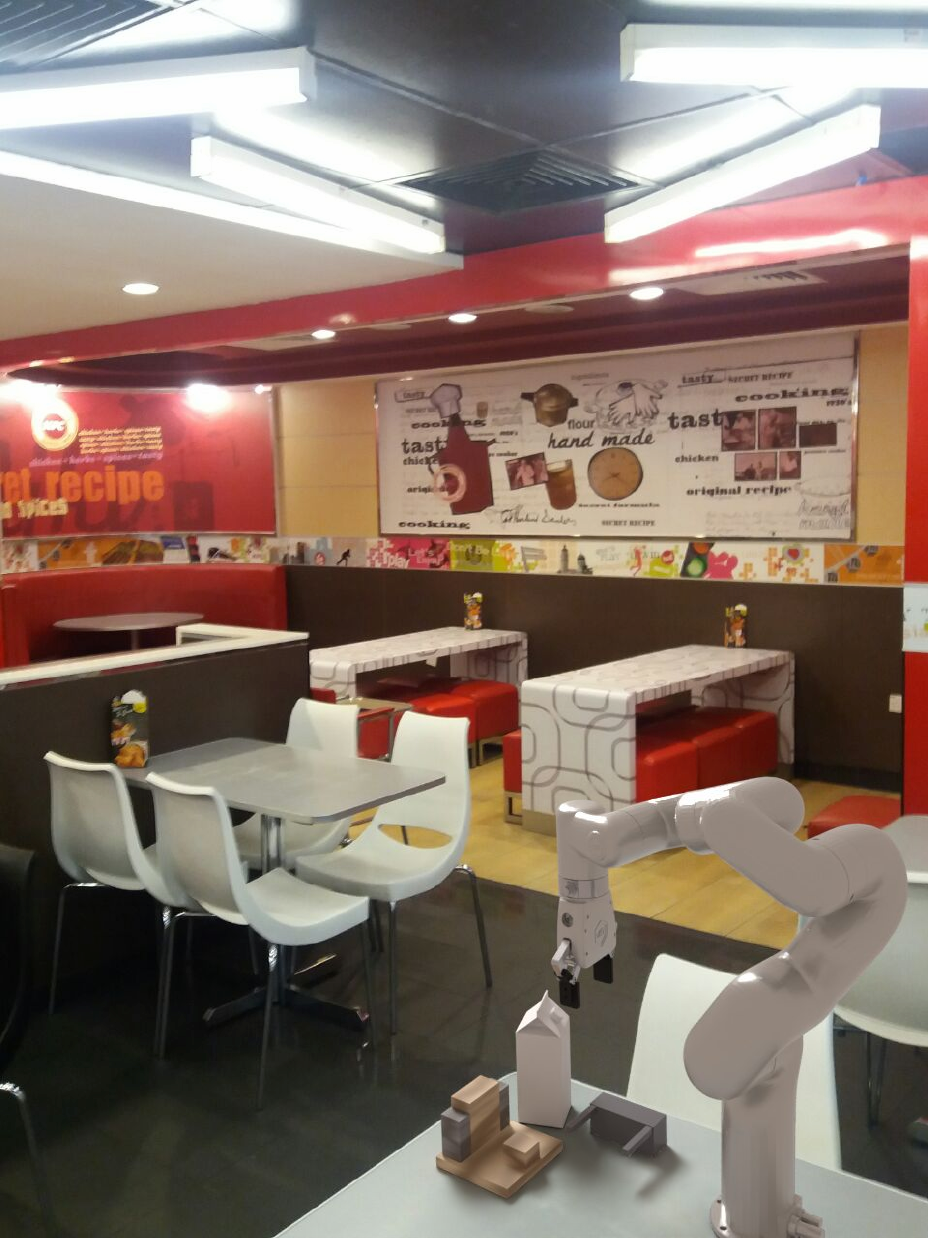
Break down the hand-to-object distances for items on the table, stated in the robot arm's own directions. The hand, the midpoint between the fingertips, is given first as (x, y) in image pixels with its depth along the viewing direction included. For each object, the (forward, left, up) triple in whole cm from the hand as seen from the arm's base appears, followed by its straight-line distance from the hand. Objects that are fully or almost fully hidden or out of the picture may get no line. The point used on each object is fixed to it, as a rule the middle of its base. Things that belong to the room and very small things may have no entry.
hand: (587, 993), depth 170 cm
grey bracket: (-5, +1, -23) cm, 24 cm away
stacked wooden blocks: (+8, +13, -23) cm, 27 cm away
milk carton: (+9, 0, -23) cm, 24 cm away
